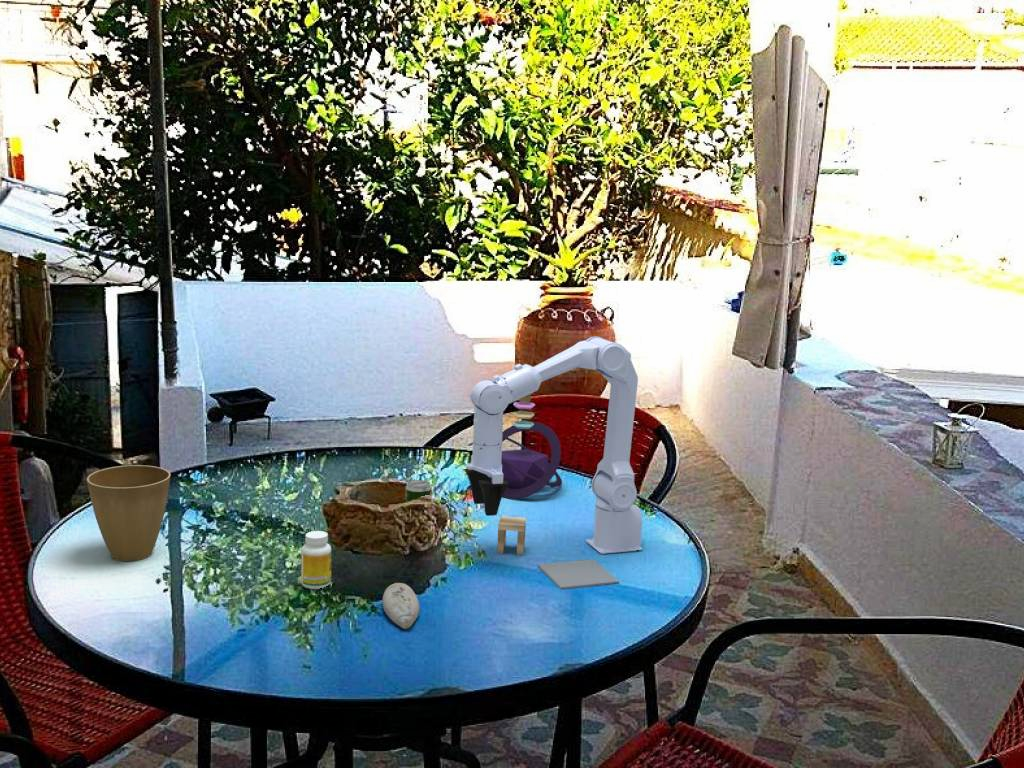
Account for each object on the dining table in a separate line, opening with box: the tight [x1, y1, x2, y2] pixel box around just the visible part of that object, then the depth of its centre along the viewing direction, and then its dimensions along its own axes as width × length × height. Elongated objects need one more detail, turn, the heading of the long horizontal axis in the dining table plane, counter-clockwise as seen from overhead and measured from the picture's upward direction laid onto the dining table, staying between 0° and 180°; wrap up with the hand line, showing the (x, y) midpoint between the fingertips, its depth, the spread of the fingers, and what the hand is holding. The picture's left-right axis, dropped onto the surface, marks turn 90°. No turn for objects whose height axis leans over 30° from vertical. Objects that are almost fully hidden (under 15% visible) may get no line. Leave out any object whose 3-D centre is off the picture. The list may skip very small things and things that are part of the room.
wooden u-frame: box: [496, 515, 527, 556], centre depth 203 cm, size 5×5×6 cm
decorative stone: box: [381, 582, 420, 630], centre depth 171 cm, size 6×16×3 cm, turn 15°
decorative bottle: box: [501, 393, 563, 500], centre depth 245 cm, size 22×21×25 cm
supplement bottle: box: [300, 530, 332, 590], centre depth 181 cm, size 5×5×10 cm
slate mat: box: [537, 559, 620, 590], centre depth 192 cm, size 12×12×1 cm
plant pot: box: [86, 464, 172, 562], centre depth 191 cm, size 15×15×16 cm
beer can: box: [404, 479, 432, 501], centre depth 207 cm, size 5×5×12 cm
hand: (485, 509), depth 197 cm, fingers open, 7 cm apart
